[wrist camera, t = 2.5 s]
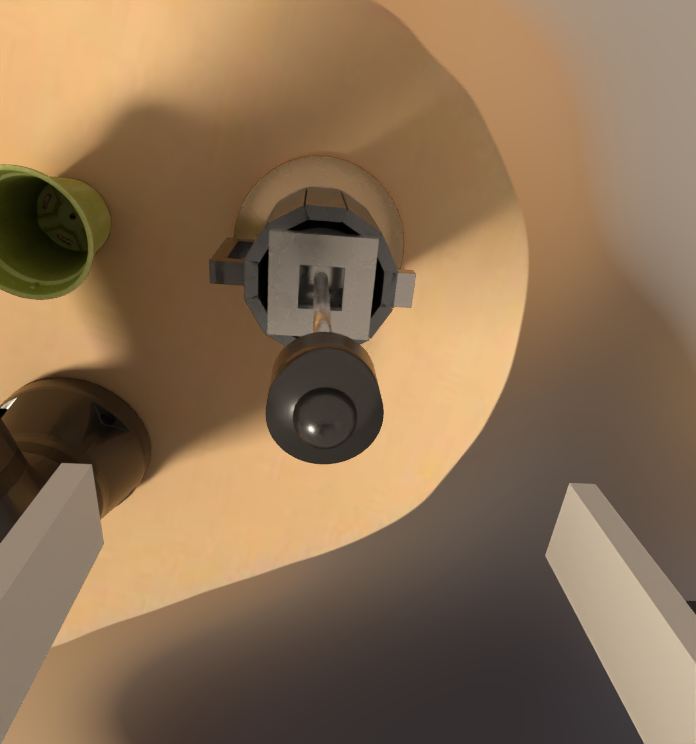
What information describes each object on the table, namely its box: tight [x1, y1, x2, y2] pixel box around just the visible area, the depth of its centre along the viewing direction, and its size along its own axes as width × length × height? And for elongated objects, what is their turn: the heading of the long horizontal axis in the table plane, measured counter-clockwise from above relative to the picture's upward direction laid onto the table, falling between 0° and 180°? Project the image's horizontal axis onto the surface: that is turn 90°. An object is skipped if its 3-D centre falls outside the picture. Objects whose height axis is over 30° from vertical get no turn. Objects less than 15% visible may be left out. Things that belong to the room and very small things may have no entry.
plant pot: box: [0, 164, 111, 300], centre depth 40 cm, size 9×9×9 cm
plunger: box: [266, 226, 384, 464], centre depth 28 cm, size 7×7×21 cm
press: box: [209, 156, 416, 346], centre depth 40 cm, size 15×15×13 cm
